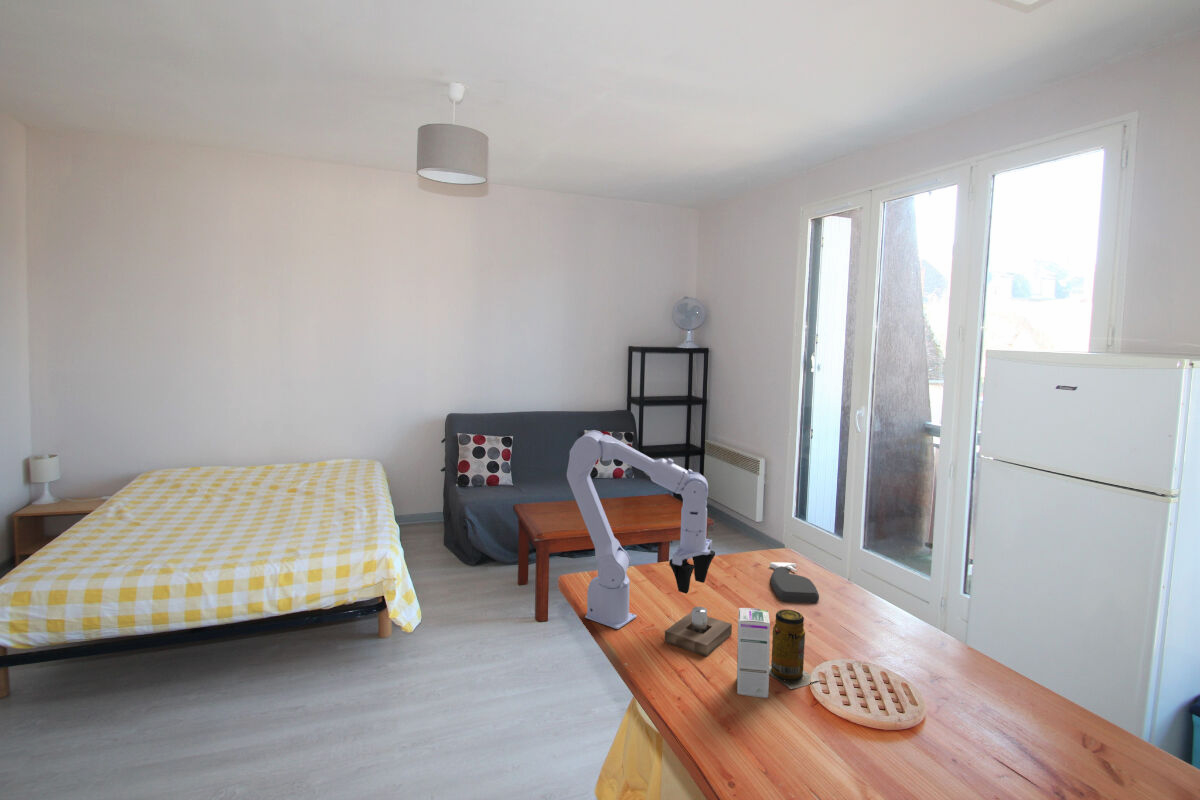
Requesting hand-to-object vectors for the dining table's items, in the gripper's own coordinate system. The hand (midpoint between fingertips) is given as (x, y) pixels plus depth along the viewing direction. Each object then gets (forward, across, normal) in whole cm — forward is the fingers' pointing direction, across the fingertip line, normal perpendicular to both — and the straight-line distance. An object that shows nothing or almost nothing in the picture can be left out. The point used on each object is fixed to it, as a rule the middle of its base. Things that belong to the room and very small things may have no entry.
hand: (691, 586), depth 140 cm
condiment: (+10, -6, -25) cm, 28 cm away
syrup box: (+10, -15, -21) cm, 28 cm away
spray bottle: (+10, +39, -8) cm, 41 cm away
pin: (+9, -4, -4) cm, 11 cm away
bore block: (+9, -4, -4) cm, 11 cm away
